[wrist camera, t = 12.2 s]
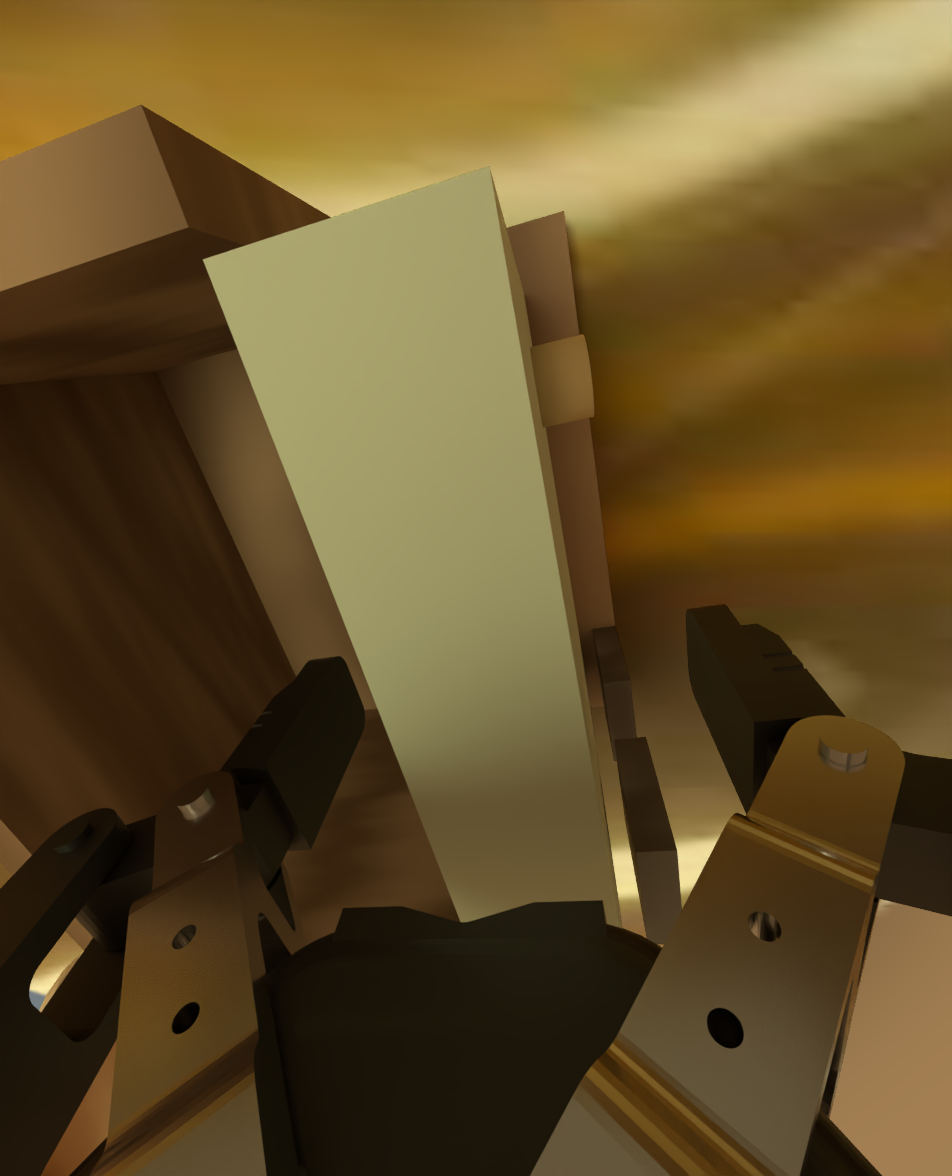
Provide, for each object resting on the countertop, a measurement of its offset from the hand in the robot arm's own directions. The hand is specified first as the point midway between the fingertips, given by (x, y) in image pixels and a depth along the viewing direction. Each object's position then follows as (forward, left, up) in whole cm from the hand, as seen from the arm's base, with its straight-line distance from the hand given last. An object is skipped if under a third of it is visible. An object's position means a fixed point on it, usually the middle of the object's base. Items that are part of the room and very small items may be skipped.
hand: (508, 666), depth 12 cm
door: (0, 0, -10) cm, 10 cm away
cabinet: (+6, 0, -12) cm, 13 cm away
